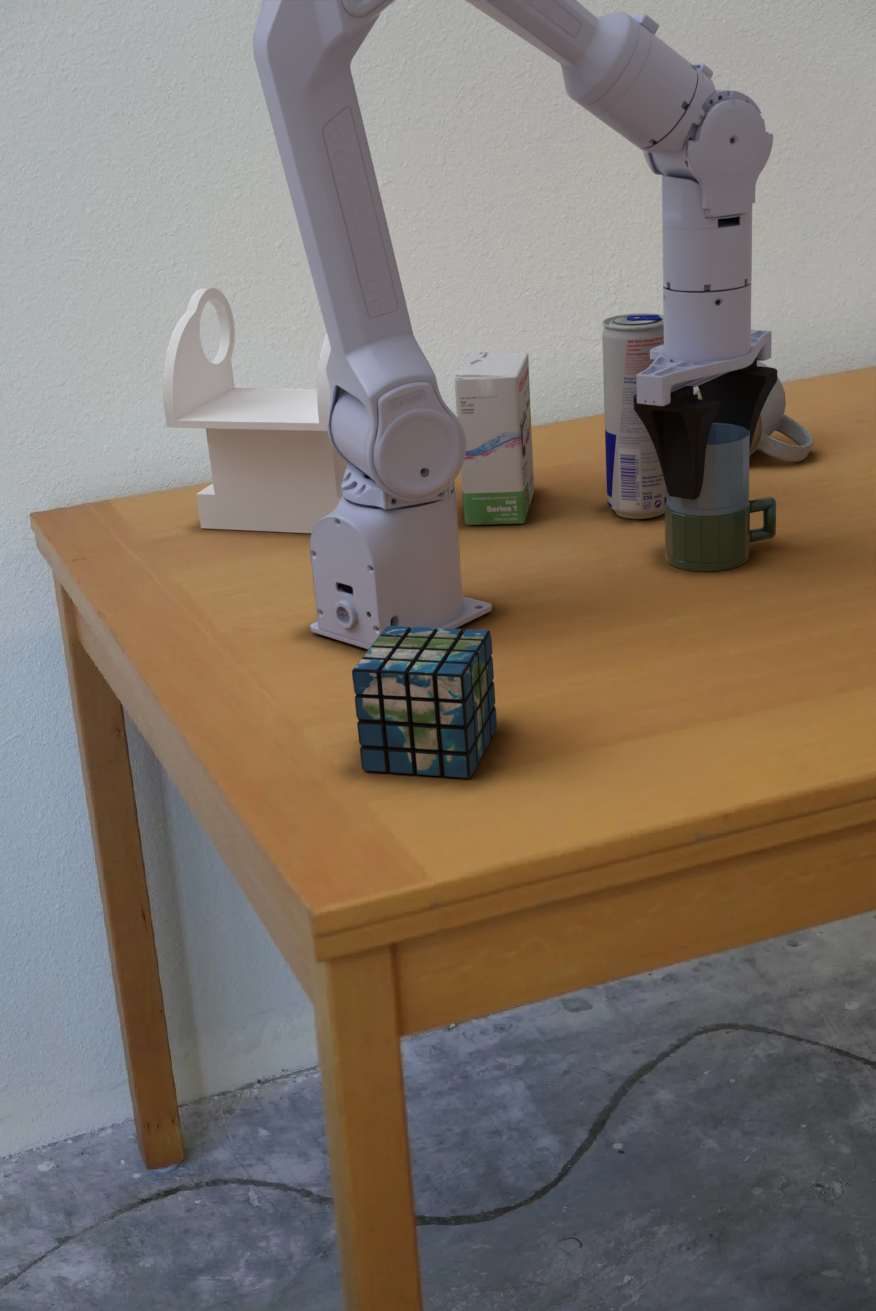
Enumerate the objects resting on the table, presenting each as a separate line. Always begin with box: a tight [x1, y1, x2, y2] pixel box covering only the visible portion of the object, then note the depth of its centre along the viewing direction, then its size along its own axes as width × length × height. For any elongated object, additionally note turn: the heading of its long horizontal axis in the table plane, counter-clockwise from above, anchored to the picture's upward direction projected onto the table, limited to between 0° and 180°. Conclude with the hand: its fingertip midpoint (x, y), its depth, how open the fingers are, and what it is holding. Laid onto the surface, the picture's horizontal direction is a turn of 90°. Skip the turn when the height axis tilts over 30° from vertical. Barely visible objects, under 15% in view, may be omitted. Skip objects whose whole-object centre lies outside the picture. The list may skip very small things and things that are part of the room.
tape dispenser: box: [162, 287, 348, 534], centre depth 116 cm, size 14×13×18 cm
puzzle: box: [351, 626, 498, 779], centre depth 79 cm, size 6×6×6 cm
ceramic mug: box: [694, 360, 814, 463], centre depth 125 cm, size 11×8×8 cm
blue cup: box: [666, 423, 750, 516], centre depth 102 cm, size 6×6×5 cm
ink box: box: [454, 351, 535, 526], centre depth 115 cm, size 8×5×12 cm, turn 171°
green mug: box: [664, 496, 777, 573], centre depth 104 cm, size 8×6×4 cm
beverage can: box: [601, 312, 667, 520], centre depth 112 cm, size 5×5×15 cm
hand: (707, 483), depth 102 cm, fingers closed on blue cup, 5 cm apart
